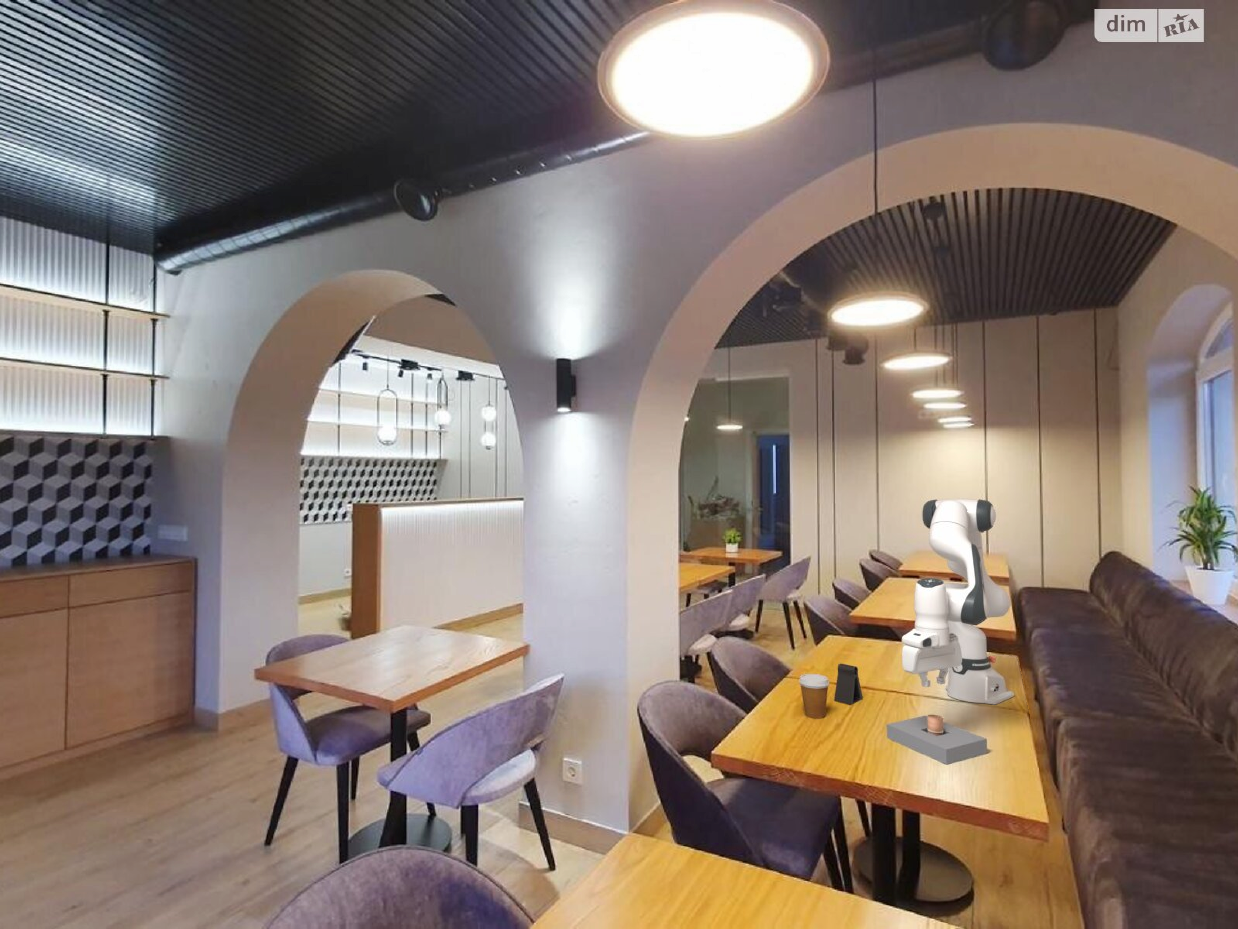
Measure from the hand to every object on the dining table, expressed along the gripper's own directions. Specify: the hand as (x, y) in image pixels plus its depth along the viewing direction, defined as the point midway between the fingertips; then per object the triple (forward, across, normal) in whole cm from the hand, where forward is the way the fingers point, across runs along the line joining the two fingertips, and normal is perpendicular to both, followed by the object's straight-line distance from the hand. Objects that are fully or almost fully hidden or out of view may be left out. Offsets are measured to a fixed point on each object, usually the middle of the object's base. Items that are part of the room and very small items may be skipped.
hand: (933, 685), depth 182 cm
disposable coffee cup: (+17, +14, -34) cm, 41 cm away
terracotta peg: (+17, 0, 0) cm, 17 cm away
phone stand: (+17, -6, -40) cm, 44 cm away
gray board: (+17, 0, 0) cm, 17 cm away
